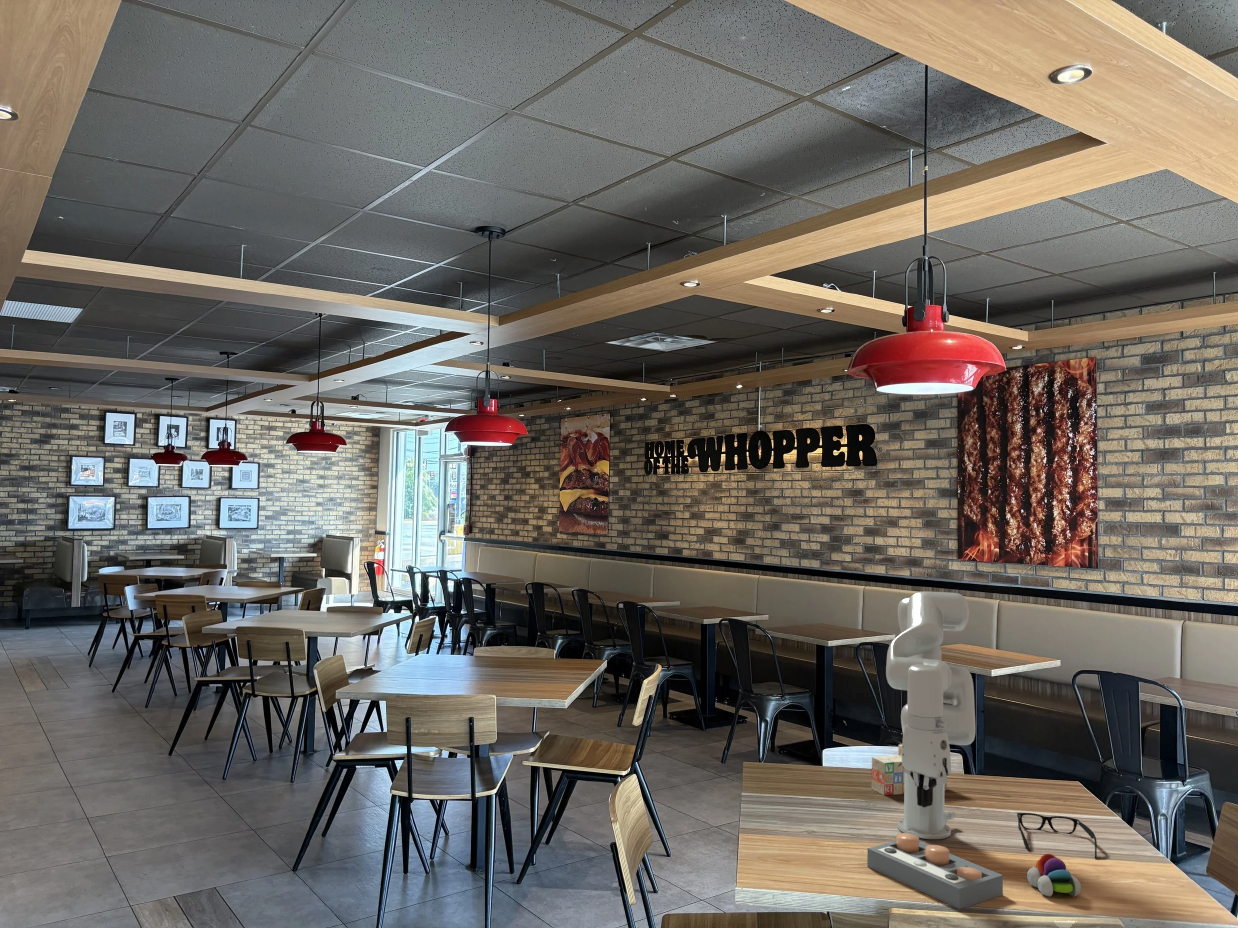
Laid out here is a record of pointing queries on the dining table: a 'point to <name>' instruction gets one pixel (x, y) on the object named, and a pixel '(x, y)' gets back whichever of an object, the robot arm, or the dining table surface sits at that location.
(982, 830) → the dining table surface
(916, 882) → the button board
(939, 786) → the robot arm
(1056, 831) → the glasses
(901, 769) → the stack of blocks
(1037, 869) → the rainbow wheeled toy
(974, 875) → the button
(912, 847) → the button
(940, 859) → the button
